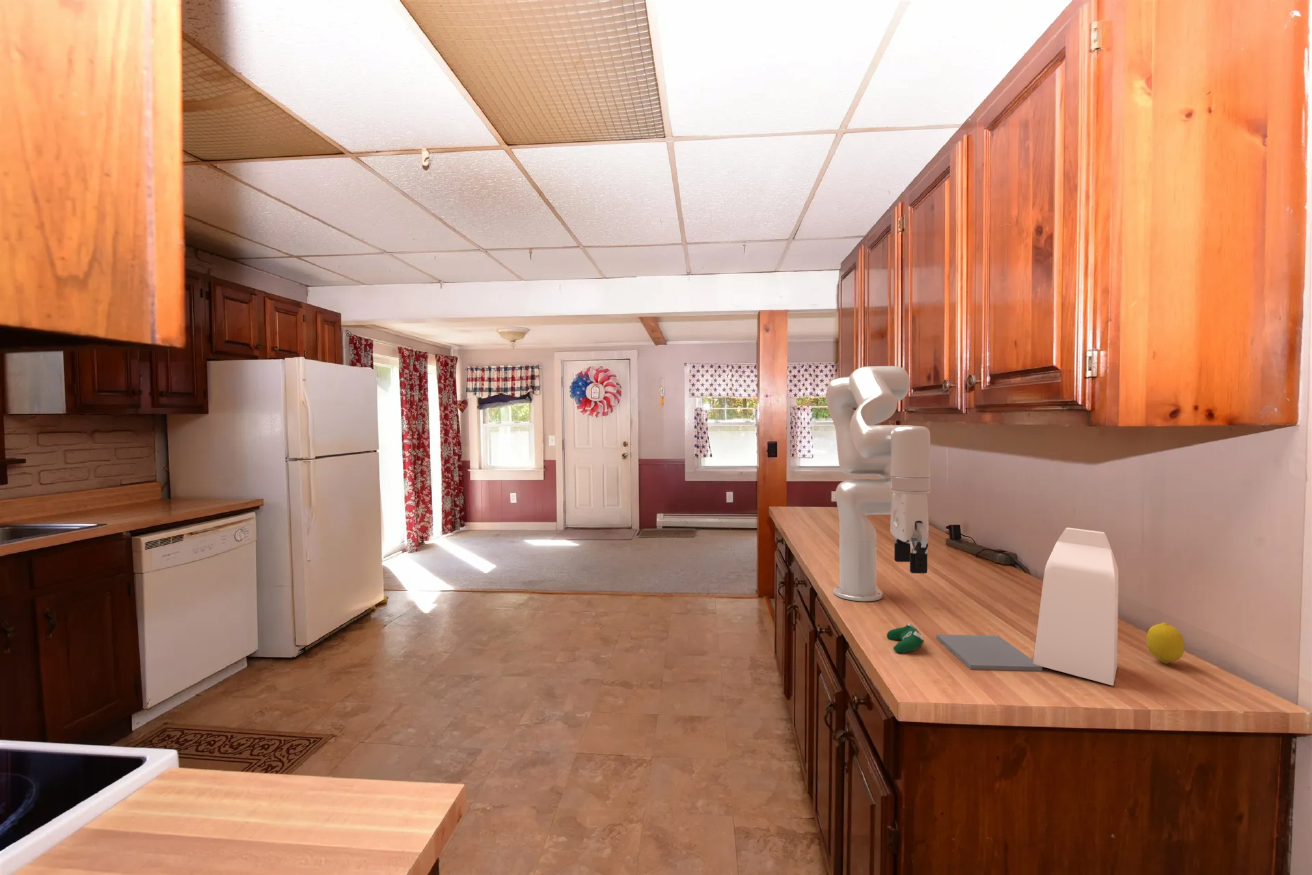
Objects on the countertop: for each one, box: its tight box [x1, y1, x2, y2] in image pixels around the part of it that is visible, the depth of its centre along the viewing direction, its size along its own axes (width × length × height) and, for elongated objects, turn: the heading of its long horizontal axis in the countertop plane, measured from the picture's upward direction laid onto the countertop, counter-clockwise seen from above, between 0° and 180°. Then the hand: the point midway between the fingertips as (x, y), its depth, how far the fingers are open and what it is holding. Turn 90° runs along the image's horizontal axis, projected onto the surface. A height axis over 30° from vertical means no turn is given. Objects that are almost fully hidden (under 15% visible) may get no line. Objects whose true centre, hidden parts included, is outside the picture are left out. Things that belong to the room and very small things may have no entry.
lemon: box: [1145, 622, 1185, 665], centre depth 111 cm, size 6×6×8 cm
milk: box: [1032, 527, 1119, 686], centre depth 109 cm, size 12×12×26 cm
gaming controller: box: [886, 621, 925, 654], centre depth 121 cm, size 9×4×6 cm
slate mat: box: [935, 633, 1043, 672], centre depth 117 cm, size 16×13×1 cm
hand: (910, 567), depth 120 cm, fingers open, 9 cm apart
